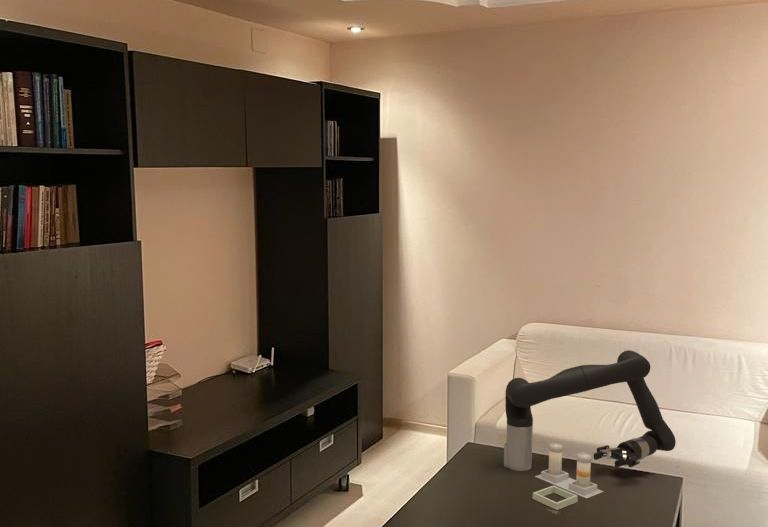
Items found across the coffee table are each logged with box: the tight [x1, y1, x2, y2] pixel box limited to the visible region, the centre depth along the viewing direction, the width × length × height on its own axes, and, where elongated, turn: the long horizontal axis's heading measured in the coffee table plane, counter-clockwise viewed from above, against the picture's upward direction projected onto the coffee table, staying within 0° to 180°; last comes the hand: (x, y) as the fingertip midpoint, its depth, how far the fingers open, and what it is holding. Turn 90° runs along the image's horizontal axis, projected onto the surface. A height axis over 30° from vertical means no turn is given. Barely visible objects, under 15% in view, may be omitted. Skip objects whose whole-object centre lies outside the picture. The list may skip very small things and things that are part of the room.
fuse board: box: [534, 468, 604, 499], centre depth 246 cm, size 22×9×4 cm, turn 36°
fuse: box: [548, 441, 564, 477], centre depth 251 cm, size 5×5×12 cm
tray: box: [532, 484, 579, 515], centre depth 233 cm, size 10×10×4 cm
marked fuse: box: [575, 451, 592, 489], centre depth 241 cm, size 5×5×12 cm
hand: (604, 460), depth 247 cm, fingers open, 8 cm apart
